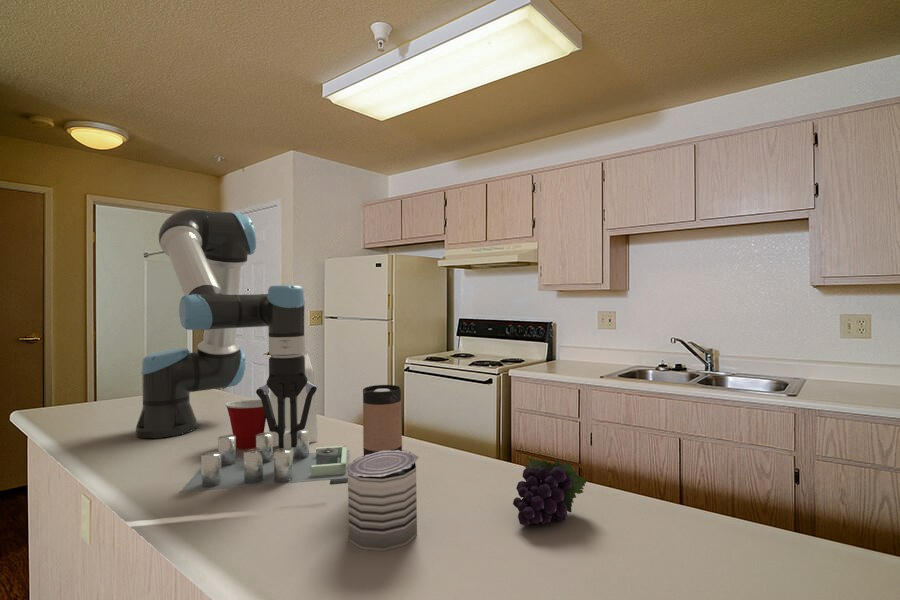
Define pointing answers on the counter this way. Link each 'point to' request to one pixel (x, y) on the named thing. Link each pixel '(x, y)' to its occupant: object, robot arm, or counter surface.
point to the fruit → (546, 491)
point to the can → (382, 500)
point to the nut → (327, 456)
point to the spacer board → (265, 474)
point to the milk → (298, 407)
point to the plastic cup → (246, 421)
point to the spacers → (253, 459)
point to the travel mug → (382, 419)
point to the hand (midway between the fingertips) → (288, 461)
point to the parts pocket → (331, 468)
